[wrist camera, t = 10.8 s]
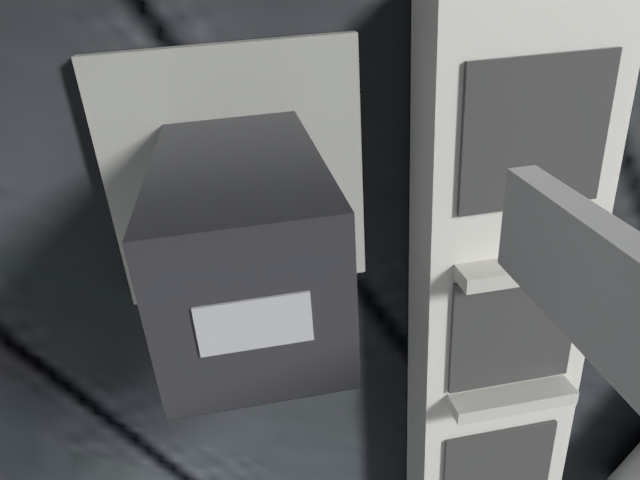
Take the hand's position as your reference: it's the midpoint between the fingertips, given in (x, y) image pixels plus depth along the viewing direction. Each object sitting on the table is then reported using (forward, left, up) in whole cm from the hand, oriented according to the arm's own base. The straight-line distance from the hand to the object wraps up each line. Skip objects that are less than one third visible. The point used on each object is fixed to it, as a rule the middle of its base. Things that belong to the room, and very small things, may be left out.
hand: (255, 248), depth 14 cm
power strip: (+3, +10, -7) cm, 12 cm away
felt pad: (0, 0, -7) cm, 7 cm away
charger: (0, 0, -6) cm, 6 cm away
